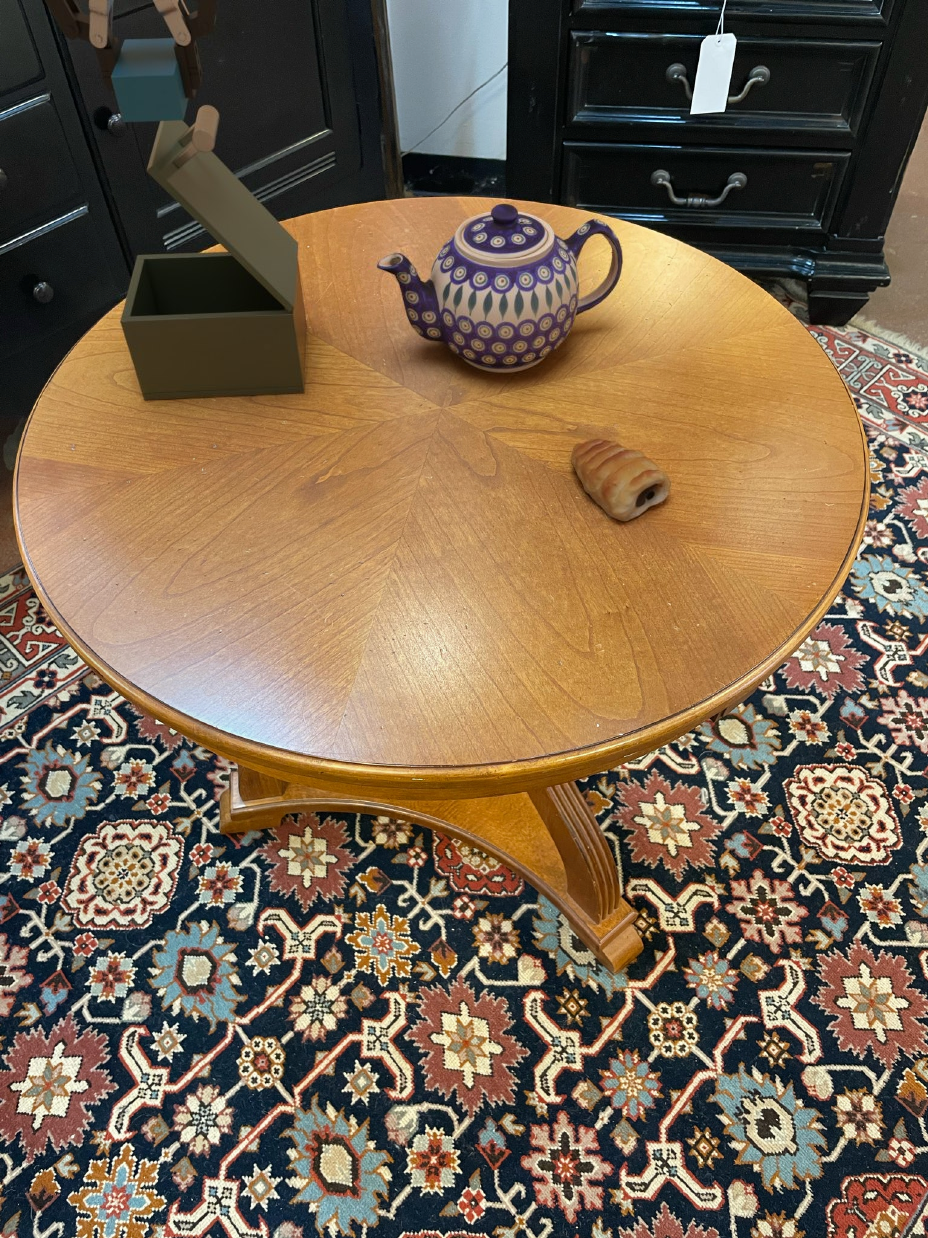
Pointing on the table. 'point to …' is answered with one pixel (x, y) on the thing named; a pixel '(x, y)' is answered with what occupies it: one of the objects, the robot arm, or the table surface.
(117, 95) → the blue rectangular block
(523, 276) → the teapot
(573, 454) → the pastry
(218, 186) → the lid
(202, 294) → the bin
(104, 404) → the table surface
